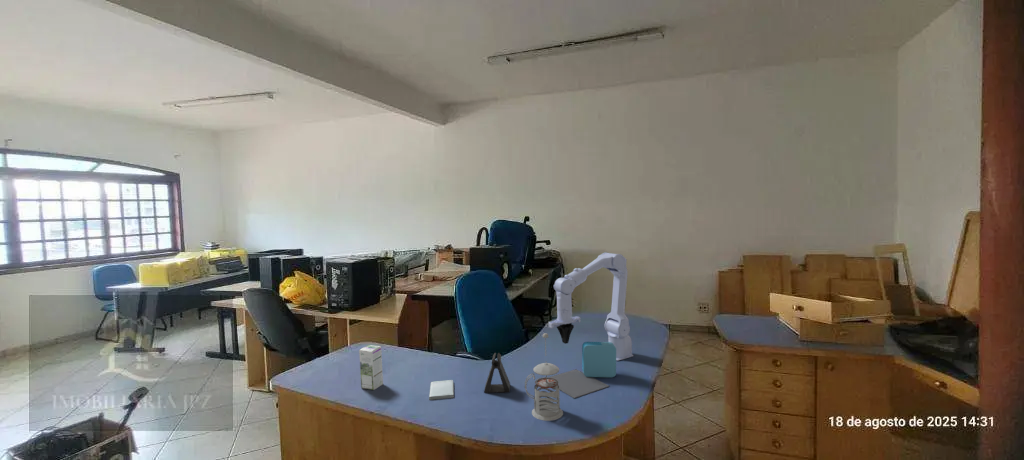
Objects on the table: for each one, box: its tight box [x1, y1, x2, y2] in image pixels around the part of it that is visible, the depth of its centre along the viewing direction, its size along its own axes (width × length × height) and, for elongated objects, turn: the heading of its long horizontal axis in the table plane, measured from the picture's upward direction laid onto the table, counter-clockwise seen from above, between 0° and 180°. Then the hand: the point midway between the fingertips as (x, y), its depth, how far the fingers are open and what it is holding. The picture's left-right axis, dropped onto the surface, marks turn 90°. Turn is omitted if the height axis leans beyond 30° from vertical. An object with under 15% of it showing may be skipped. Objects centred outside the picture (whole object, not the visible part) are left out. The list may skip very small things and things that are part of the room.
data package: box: [581, 341, 617, 378], centre depth 151 cm, size 12×4×12 cm, turn 87°
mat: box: [547, 368, 610, 399], centre depth 145 cm, size 16×18×1 cm
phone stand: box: [483, 352, 511, 394], centre depth 142 cm, size 9×6×12 cm, turn 88°
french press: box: [524, 332, 564, 422], centre depth 124 cm, size 10×12×25 cm
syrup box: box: [358, 345, 384, 391], centre depth 147 cm, size 6×6×14 cm
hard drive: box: [428, 379, 454, 401], centre depth 142 cm, size 2×8×12 cm
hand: (565, 342), depth 159 cm, fingers closed
